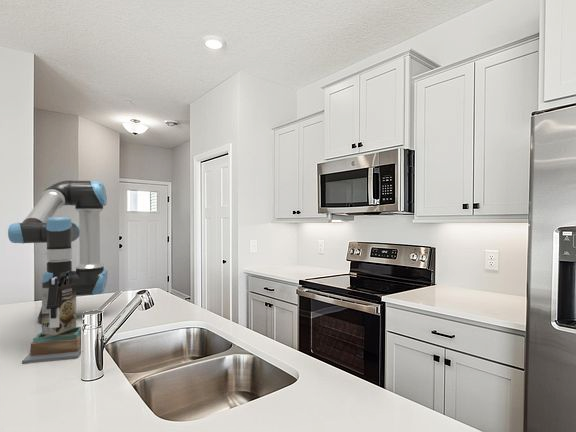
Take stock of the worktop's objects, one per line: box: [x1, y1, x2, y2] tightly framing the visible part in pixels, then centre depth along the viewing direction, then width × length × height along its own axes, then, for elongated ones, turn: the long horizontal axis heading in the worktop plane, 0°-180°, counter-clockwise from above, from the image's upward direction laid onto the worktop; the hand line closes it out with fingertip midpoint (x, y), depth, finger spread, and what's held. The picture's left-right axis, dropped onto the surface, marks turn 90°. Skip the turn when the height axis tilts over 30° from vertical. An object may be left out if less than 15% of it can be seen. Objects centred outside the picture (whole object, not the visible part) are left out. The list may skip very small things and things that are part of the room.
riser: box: [29, 326, 82, 356], centre depth 130 cm, size 12×14×6 cm
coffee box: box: [41, 284, 77, 335], centre depth 130 cm, size 9×6×16 cm
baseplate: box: [21, 347, 82, 365], centre depth 130 cm, size 20×16×1 cm
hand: (59, 322), depth 130 cm, fingers closed on coffee box, 10 cm apart
